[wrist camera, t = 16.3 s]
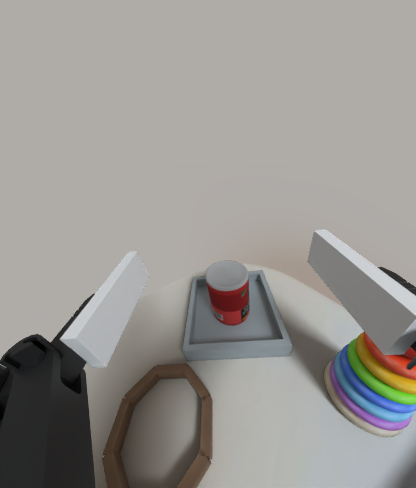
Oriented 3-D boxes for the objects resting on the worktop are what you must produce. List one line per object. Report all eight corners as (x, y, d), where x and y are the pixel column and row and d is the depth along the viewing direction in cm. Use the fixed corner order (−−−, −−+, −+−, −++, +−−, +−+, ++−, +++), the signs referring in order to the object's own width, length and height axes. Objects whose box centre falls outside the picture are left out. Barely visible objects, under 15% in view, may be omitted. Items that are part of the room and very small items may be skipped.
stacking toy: (319, 353, 27) (354, 267, 17) (384, 373, 23) (472, 280, 14) (327, 417, 21) (386, 338, 11) (416, 456, 17) (608, 392, 8)
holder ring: (89, 520, 17) (78, 520, 16) (138, 371, 29) (134, 366, 28) (212, 527, 16) (209, 529, 15) (212, 368, 27) (210, 362, 26)
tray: (186, 360, 29) (182, 351, 27) (195, 286, 44) (193, 277, 43) (290, 356, 27) (292, 345, 25) (262, 280, 42) (262, 270, 41)
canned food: (251, 327, 31) (250, 288, 26) (211, 326, 33) (201, 288, 27) (248, 296, 38) (246, 258, 32) (214, 296, 39) (207, 260, 33)
